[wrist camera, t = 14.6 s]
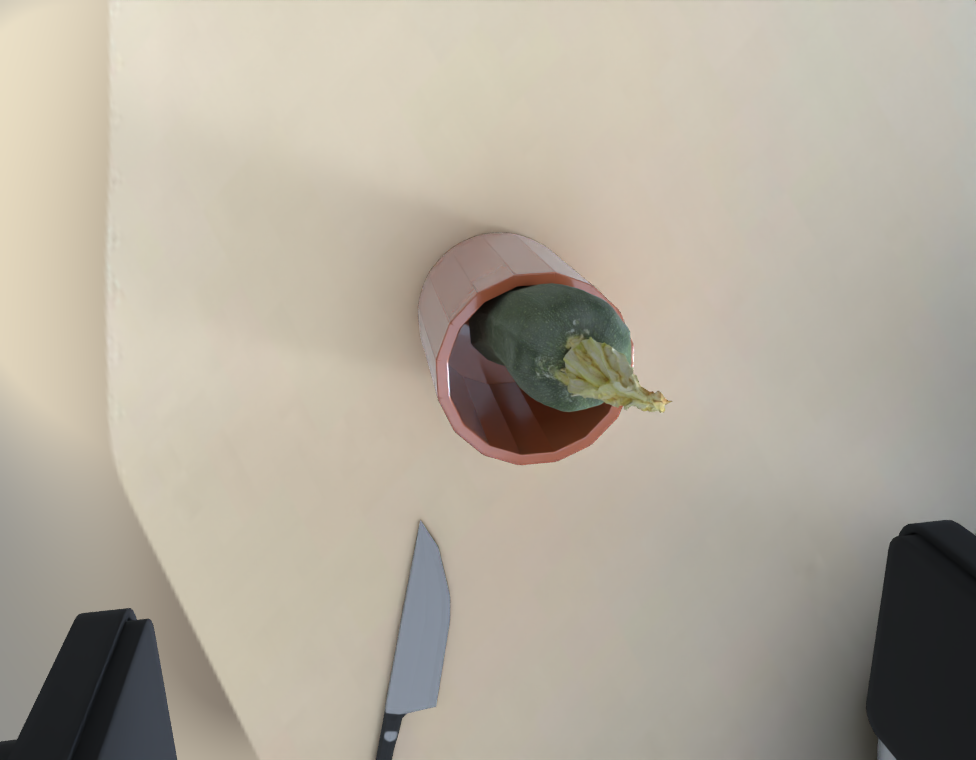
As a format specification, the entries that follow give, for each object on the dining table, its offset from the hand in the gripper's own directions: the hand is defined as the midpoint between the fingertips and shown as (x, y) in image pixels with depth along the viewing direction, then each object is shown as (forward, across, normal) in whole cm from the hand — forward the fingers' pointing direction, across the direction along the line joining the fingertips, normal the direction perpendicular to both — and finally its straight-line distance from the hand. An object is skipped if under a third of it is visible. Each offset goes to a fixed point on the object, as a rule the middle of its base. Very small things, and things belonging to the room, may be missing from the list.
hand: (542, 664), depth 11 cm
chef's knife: (+34, 0, +26) cm, 43 cm away
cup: (+34, -5, +5) cm, 35 cm away
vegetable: (+34, -5, +5) cm, 34 cm away
